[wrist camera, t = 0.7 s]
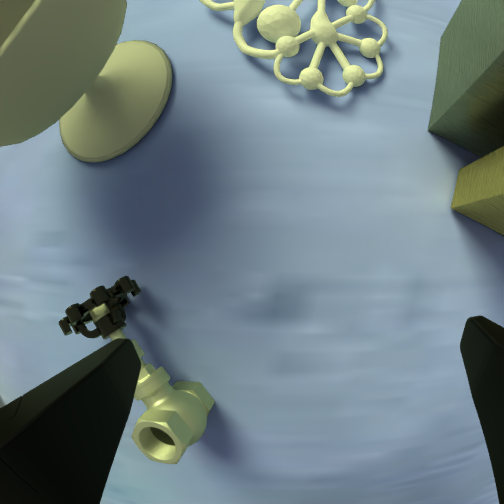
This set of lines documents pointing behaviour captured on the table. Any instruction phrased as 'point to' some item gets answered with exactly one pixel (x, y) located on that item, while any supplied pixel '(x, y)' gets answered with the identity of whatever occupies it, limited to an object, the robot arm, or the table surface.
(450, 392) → the table surface
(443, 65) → the housing
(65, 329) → the valve
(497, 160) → the end cover
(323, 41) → the tangled rod sculpture
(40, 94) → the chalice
